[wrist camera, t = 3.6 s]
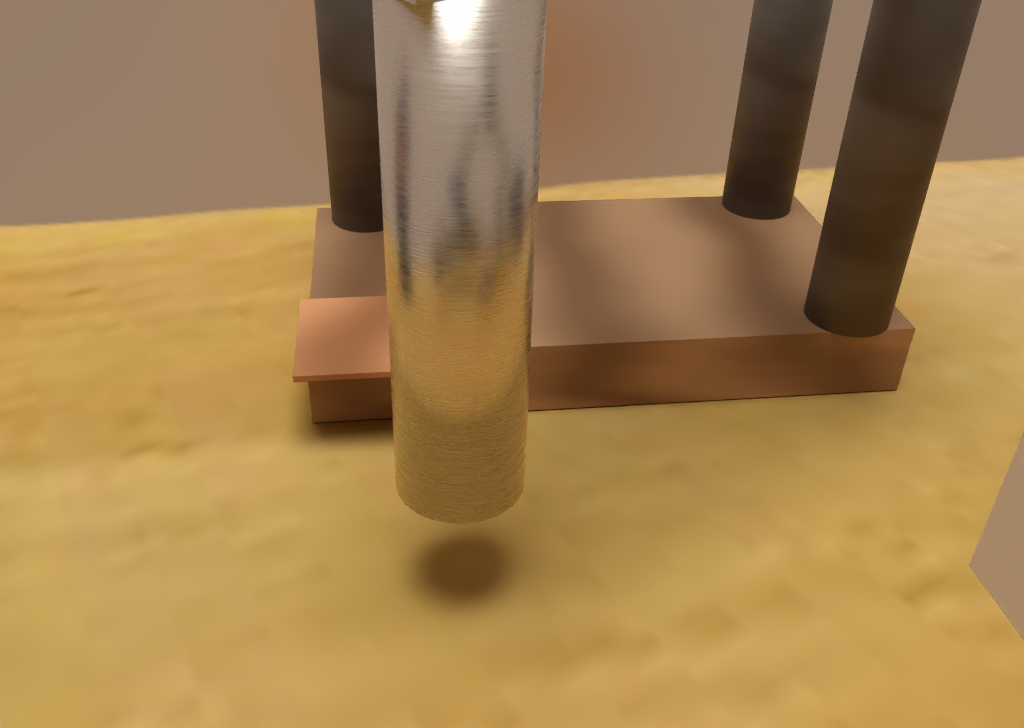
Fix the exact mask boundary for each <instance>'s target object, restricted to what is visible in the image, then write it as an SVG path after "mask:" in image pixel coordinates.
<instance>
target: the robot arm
mask: <svg viewBox="0 0 1024 728" xmlns="http://www.w3.org/2000/svg"><path fill="white" fill-rule="evenodd" d="M969 566H970V567H971V569H972V570H973V571H974V573H975V574H976V576H977V577H978V578H979V580H980V581H981V582H982V584H983V585H984V587H985V588H986V589H987V591H988V592H989V593H990V595H991V596H992V598H993V599H994V600H995V602H996V603H997V604H998V606H999V607H1000V609H1001V610H1002V611H1003V613H1004V614H1005V615H1006V617H1007V618H1008V620H1009V621H1010V622H1011V624H1012V625H1013V626H1014V628H1015V629H1016V631H1017V632H1018V633H1019V635H1020V636H1021V637H1022V639H1023V640H1024V432H1023V435H1022V437H1021V440H1020V442H1019V445H1018V447H1017V449H1016V452H1015V454H1014V457H1013V459H1012V462H1011V464H1010V467H1009V469H1008V471H1007V474H1006V476H1005V479H1004V481H1003V484H1002V486H1001V489H1000V491H999V493H998V496H997V498H996V501H995V503H994V506H993V508H992V510H991V513H990V515H989V518H988V520H987V523H986V525H985V528H984V530H983V532H982V535H981V537H980V540H979V542H978V545H977V547H976V549H975V552H974V554H973V557H972V559H971V562H970V564H969Z"/></svg>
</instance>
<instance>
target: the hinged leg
mask: <svg viewBox="0 0 1024 728" xmlns="http://www.w3.org/2000/svg"><path fill="white" fill-rule="evenodd" d="M372 5H373V26H374V46H375V67H376V87H377V108H378V128H379V148H380V169H381V189H382V210H383V230H384V251H385V271H386V292H387V312H388V333H389V353H390V374H391V394H392V414H393V435H394V455H395V476H396V487H397V491H398V494H399V496H400V497H401V499H402V500H403V502H404V503H405V504H406V505H407V506H408V507H409V508H411V509H412V510H413V511H415V512H416V513H418V514H420V515H422V516H424V517H427V518H429V519H432V520H436V521H440V522H446V523H472V522H478V521H483V520H486V519H490V518H492V517H495V516H497V515H499V514H501V513H503V512H504V511H506V510H507V509H509V508H510V507H511V506H512V505H513V504H514V503H515V502H516V501H517V500H518V498H519V497H520V495H521V493H522V491H523V488H524V478H525V457H526V436H527V414H528V393H529V372H530V351H531V329H532V308H533V287H534V265H535V244H536V223H537V202H538V180H539V159H540V158H539V157H540V138H541V116H542V94H543V71H544V52H545V31H546V30H545V29H546V9H547V0H372Z"/></svg>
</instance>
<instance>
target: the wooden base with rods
mask: <svg viewBox="0 0 1024 728" xmlns="http://www.w3.org/2000/svg"><path fill="white" fill-rule="evenodd" d="M981 1H982V0H874V1H873V5H872V10H871V14H870V19H869V23H868V27H867V32H866V36H865V41H864V45H863V49H862V54H861V58H860V63H859V67H858V72H857V76H856V80H855V85H854V89H853V94H852V98H851V102H850V107H849V111H848V116H847V120H846V124H845V129H844V134H843V138H842V142H841V147H840V151H839V156H838V160H837V164H836V169H835V173H834V178H833V182H832V186H831V191H830V195H829V200H828V204H827V208H826V213H825V217H824V222H823V226H821V225H820V224H819V223H818V221H817V220H816V219H815V218H814V217H813V216H812V215H811V214H810V213H809V212H808V211H807V209H806V208H805V207H804V206H803V205H802V204H801V203H800V202H799V201H798V200H797V198H796V197H795V196H794V195H793V194H794V189H795V184H796V179H797V175H798V170H799V165H800V160H801V155H802V150H803V145H804V140H805V135H806V130H807V126H808V120H809V116H810V110H811V106H812V101H813V96H814V91H815V86H816V81H817V77H818V71H819V67H820V62H821V57H822V52H823V47H824V42H825V37H826V32H827V28H828V23H829V18H830V13H831V8H832V3H833V0H754V5H753V11H752V18H751V23H750V30H749V36H748V42H747V48H746V55H745V61H744V67H743V74H742V79H741V86H740V92H739V98H738V105H737V111H736V117H735V123H734V129H733V136H732V142H731V148H730V154H729V161H728V167H727V173H726V179H725V185H724V191H723V196H720V197H685V198H651V199H616V200H581V201H547V202H537V223H536V244H535V265H534V287H533V308H532V329H531V351H530V372H529V393H528V410H546V409H563V408H581V407H599V406H616V405H634V404H652V403H670V402H687V401H705V400H723V399H741V398H758V397H776V396H794V395H811V394H829V393H847V392H865V391H882V390H897V387H898V384H899V380H900V377H901V374H902V371H903V367H904V364H905V361H906V357H907V354H908V351H909V347H910V344H911V341H912V338H913V334H914V331H915V328H914V326H913V325H912V324H911V323H910V322H909V321H908V320H907V319H906V318H905V317H904V316H903V314H902V313H901V312H900V311H899V310H898V309H897V308H896V307H895V302H896V299H897V295H898V292H899V288H900V285H901V281H902V278H903V274H904V271H905V267H906V264H907V260H908V257H909V253H910V250H911V246H912V243H913V239H914V236H915V232H916V229H917V225H918V222H919V218H920V215H921V211H922V208H923V204H924V201H925V197H926V194H927V190H928V187H929V183H930V179H931V176H932V172H933V169H934V165H935V162H936V158H937V155H938V151H939V148H940V144H941V141H942V137H943V134H944V130H945V127H946V123H947V120H948V116H949V113H950V109H951V106H952V102H953V99H954V95H955V92H956V88H957V85H958V81H959V78H960V74H961V71H962V67H963V64H964V60H965V56H966V53H967V50H968V46H969V43H970V39H971V36H972V32H973V29H974V25H975V22H976V18H977V15H978V11H979V8H980V4H981ZM315 11H316V24H317V36H318V50H319V61H320V74H321V86H322V99H323V111H324V123H325V136H326V149H327V161H328V173H329V186H330V198H331V208H317V220H316V233H315V246H314V259H313V271H312V284H311V297H310V299H300V308H299V318H298V329H297V340H296V350H295V361H294V371H293V381H294V382H306V381H308V383H309V393H310V402H311V411H312V421H313V423H315V422H333V421H351V420H368V419H386V418H393V414H392V394H391V374H390V353H389V333H388V312H387V292H386V271H385V251H384V230H383V210H382V189H381V169H380V148H379V128H378V108H377V87H376V67H375V46H374V26H373V5H372V0H315Z"/></svg>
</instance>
